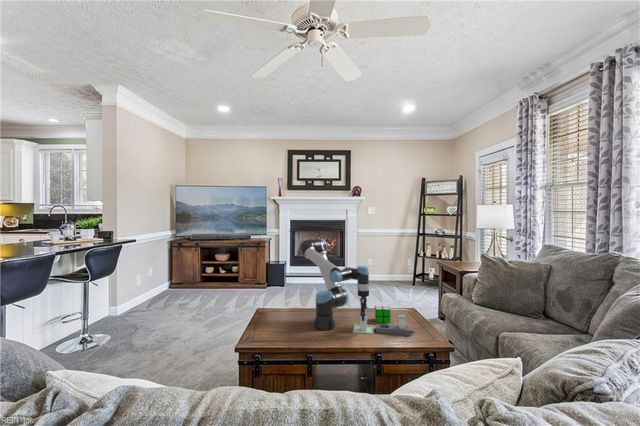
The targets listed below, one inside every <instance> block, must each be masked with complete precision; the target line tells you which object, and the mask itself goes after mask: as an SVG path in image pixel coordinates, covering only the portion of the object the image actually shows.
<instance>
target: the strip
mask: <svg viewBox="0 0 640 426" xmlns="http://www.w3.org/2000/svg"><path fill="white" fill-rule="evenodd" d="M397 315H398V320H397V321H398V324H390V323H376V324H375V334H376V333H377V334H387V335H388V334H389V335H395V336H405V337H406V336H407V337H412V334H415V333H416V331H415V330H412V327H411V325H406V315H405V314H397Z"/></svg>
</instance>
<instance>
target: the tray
mask: <svg viewBox="0 0 640 426" xmlns="http://www.w3.org/2000/svg"><path fill="white" fill-rule="evenodd" d="M374 331H375V325H372V324H367V331H361V330H360V323H359V324H358V323H354V326H353V330H352V333H354V334H355V333H356V334H365V335H366V334H367V335H374V334H375V333H374Z"/></svg>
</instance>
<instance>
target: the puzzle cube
mask: <svg viewBox="0 0 640 426" xmlns="http://www.w3.org/2000/svg"><path fill="white" fill-rule="evenodd" d="M374 319H375V323H376V324H391V309H390V305H384V304H383V305H382V304H381V305H380V304H379V305H377V304H375V305H374Z"/></svg>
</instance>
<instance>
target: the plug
mask: <svg viewBox="0 0 640 426" xmlns="http://www.w3.org/2000/svg"><path fill="white" fill-rule="evenodd" d="M367 313H368V312H365V326H361V316H360V314H361V312H360V314H359V319H360V321H359V324H360V330H361V331H367V325H368V314H367ZM362 314H364V313H362Z"/></svg>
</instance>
